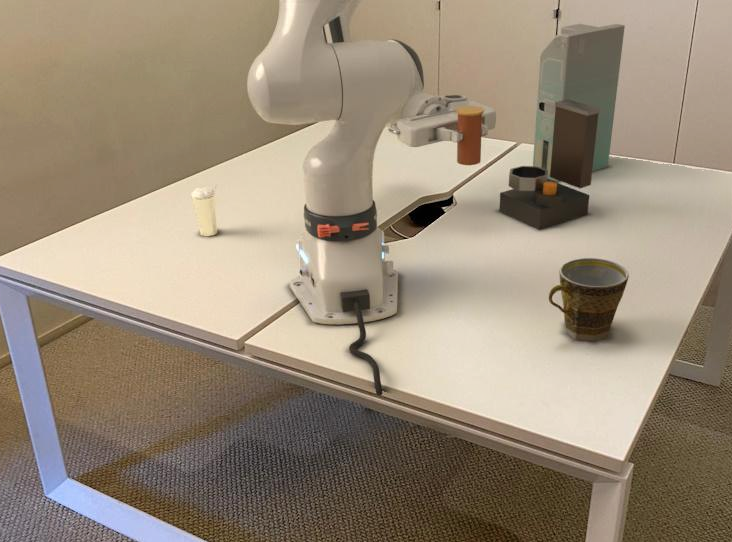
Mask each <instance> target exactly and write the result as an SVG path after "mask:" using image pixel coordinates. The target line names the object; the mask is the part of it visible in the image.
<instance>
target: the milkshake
mask: <svg viewBox="0 0 732 542" xmlns="http://www.w3.org/2000/svg"><path fill="white" fill-rule="evenodd" d="M217 186H218V184H216V185H215V187H214V189H213V188H210V187H207V186H203V187H200V186H199V187H196V188H195V189H193V190H192V192H191V193H190V197H191V200H192V201H191V202H192V205H193V208H194V211H195V216H196V220H197V224H198V225H197V226H198V228H199V232H200V235H201V236H203V237H212V236H214V235H215V236H216V235H217V234H218V224H217V212H216V190H217Z"/></svg>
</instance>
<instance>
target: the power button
mask: <svg viewBox="0 0 732 542" xmlns="http://www.w3.org/2000/svg"><path fill="white" fill-rule="evenodd" d="M555 182H556V181H554V182H545V183H544V184H543V194H544V195H556V191H557V183H558V182H557V183H555Z"/></svg>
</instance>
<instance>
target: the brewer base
mask: <svg viewBox="0 0 732 542" xmlns="http://www.w3.org/2000/svg"><path fill="white" fill-rule="evenodd" d="M547 182H555V183H557V191H556V195H544V194H543V189H540V190H537V191H519V190H517V189H514V188H512V189H508V190H505V191H501V192H499V209H498V211H499V213H501V214H503V215H506V216H507V217H510V218H512V219H514V220H517V221H519V222H522V223H523V224H526V225H528V226H530V227H533V228H535V229H536V230H542V229H545V228H548V227H549V228H550V227H552V226H555V225H558V224H561V223H564V222H567V221H570V220H574V219H576V218H577V219H578V218H580V217H583V216H587V215H588V213H589V203H590V195H589V194H588V193H585V192H582V191H580V190H577V189H575V188H573V187H570V186H567V185H564V184H561V183H559V182H558V181H557V182H556V181H553V180H550V179H548V178H547Z"/></svg>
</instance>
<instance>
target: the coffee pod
mask: <svg viewBox="0 0 732 542" xmlns="http://www.w3.org/2000/svg"><path fill="white" fill-rule="evenodd" d="M456 113H457V114H458V130H459V131H462V132H463V141H460V142H457V144H456V163H457V164H459V165H462V166H475V165H479V164H480V163H481V161H482V137H481V132H482V113H484V109H483V108H481V107H476V106H465V107H460V108H458V109H456Z"/></svg>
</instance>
